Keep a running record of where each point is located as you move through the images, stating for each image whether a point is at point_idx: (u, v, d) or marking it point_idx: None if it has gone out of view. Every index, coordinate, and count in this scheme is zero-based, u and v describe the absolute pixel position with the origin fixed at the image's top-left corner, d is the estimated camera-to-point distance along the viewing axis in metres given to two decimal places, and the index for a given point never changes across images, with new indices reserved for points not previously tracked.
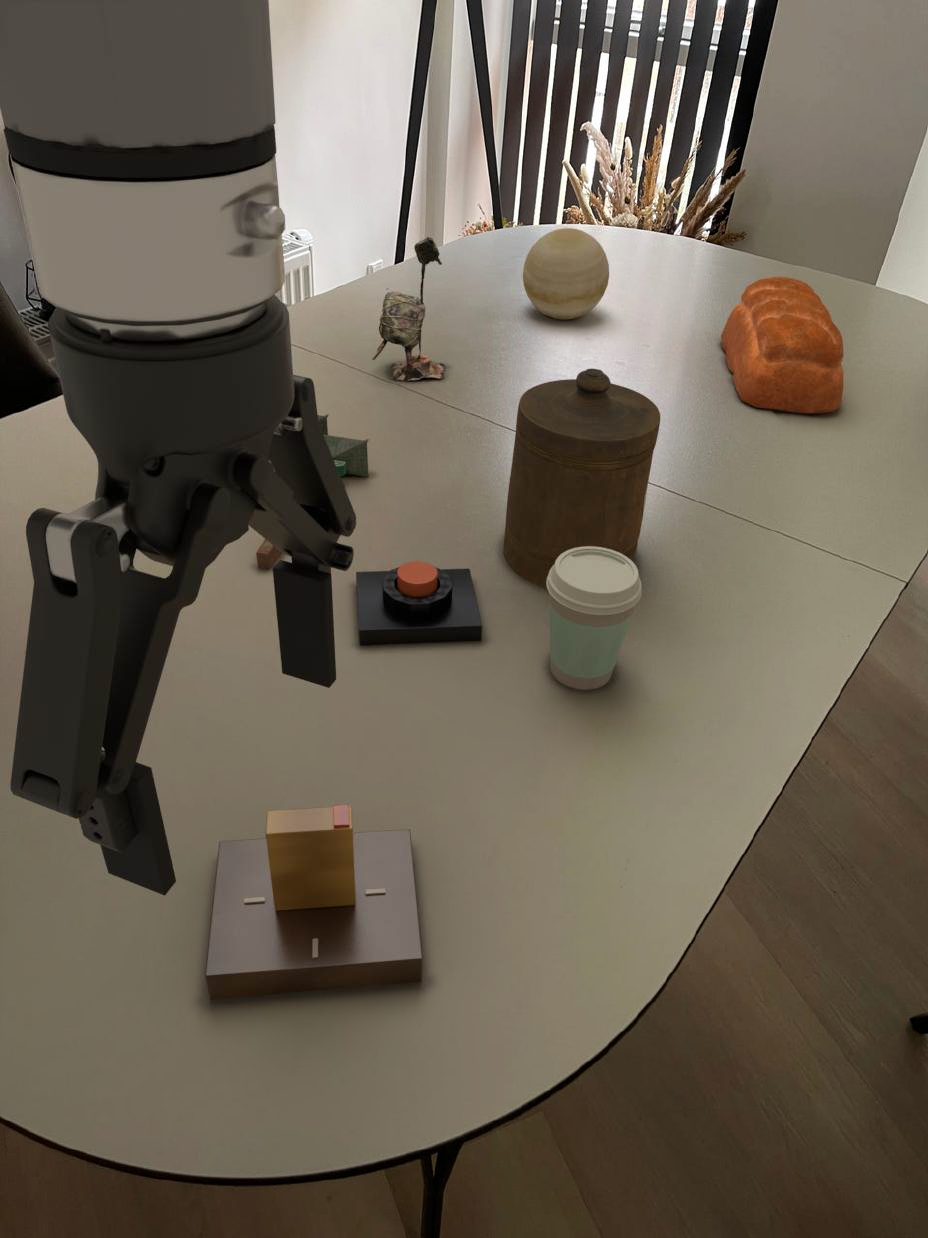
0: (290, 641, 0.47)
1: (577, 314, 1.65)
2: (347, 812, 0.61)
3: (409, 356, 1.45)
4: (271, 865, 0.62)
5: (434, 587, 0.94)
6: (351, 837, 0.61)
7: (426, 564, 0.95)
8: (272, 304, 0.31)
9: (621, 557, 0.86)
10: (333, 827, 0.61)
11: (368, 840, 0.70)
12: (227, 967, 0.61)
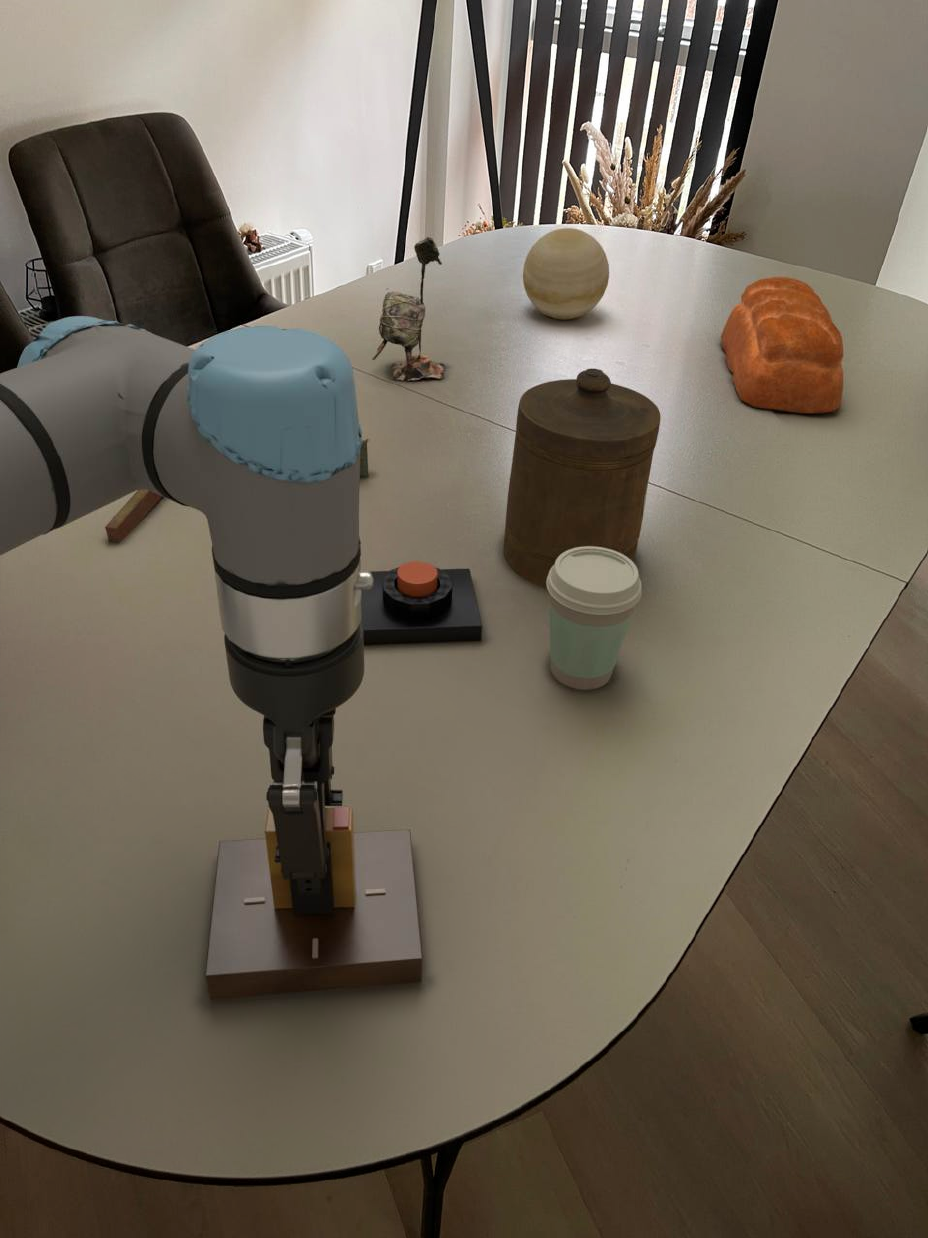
0: None
1: (577, 314, 1.65)
2: (347, 814, 0.61)
3: (409, 356, 1.45)
4: (270, 863, 0.62)
5: (434, 587, 0.94)
6: (350, 839, 0.61)
7: (426, 564, 0.95)
8: None
9: (621, 557, 0.86)
10: (332, 828, 0.61)
11: (368, 840, 0.70)
12: (227, 967, 0.61)
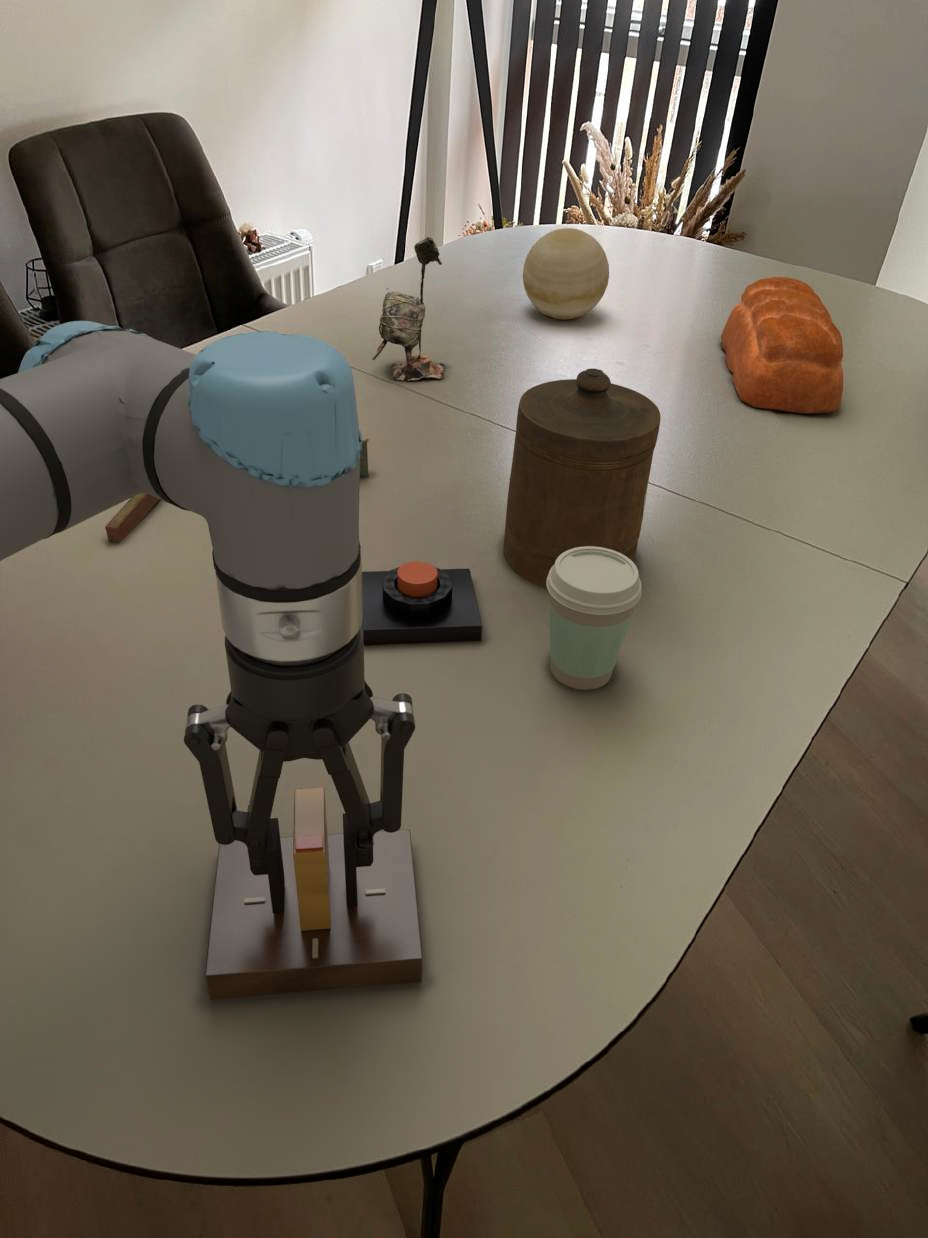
0: None
1: (577, 314, 1.65)
2: (313, 847, 0.59)
3: (409, 356, 1.45)
4: None
5: (434, 587, 0.94)
6: (294, 862, 0.59)
7: (426, 564, 0.95)
8: (328, 660, 0.50)
9: (621, 557, 0.86)
10: (296, 838, 0.60)
11: None
12: (227, 967, 0.61)
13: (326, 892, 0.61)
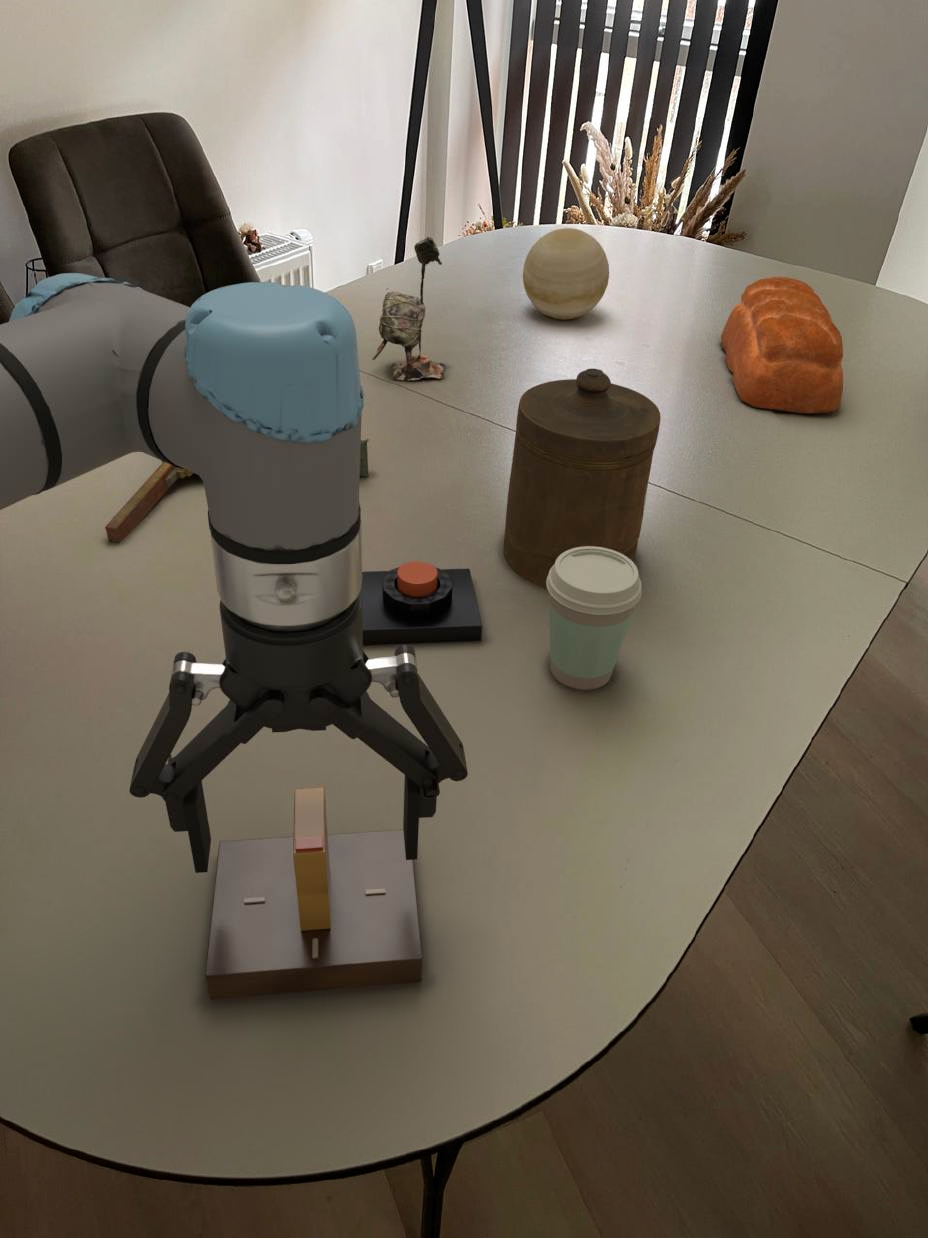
0: (404, 813, 0.63)
1: (577, 314, 1.65)
2: (313, 847, 0.59)
3: (409, 356, 1.45)
4: None
5: (434, 587, 0.94)
6: (294, 862, 0.59)
7: (426, 564, 0.95)
8: (326, 626, 0.49)
9: (621, 557, 0.86)
10: (296, 838, 0.60)
11: (368, 840, 0.70)
12: (227, 967, 0.61)
13: (326, 892, 0.61)
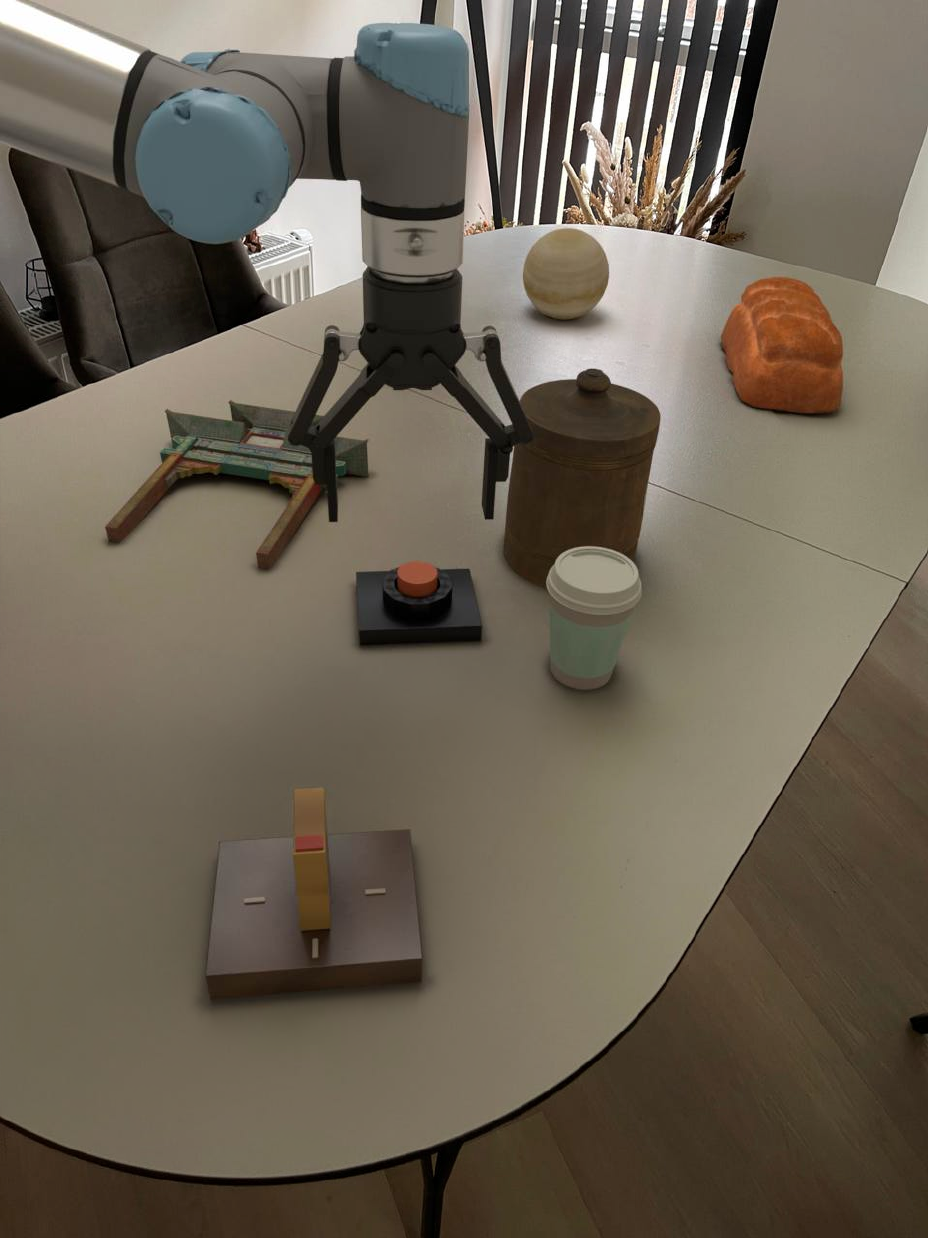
0: (483, 484, 0.84)
1: (577, 314, 1.65)
2: (313, 847, 0.59)
3: None
4: None
5: (434, 587, 0.94)
6: (294, 862, 0.59)
7: (426, 564, 0.95)
8: (439, 283, 0.69)
9: (621, 557, 0.86)
10: (296, 838, 0.60)
11: (368, 840, 0.70)
12: (227, 967, 0.61)
13: (326, 892, 0.61)
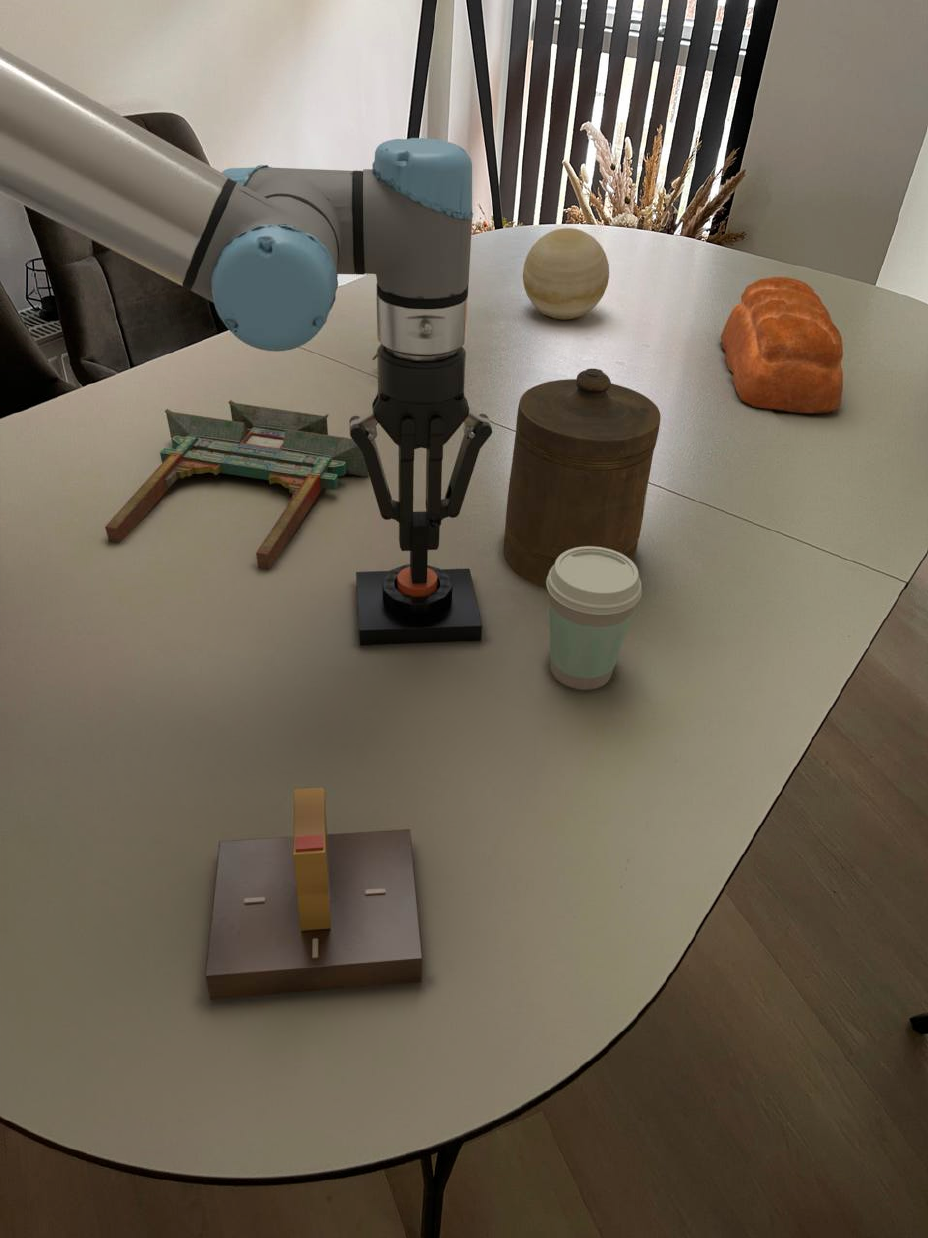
0: None
1: (577, 314, 1.65)
2: (313, 847, 0.59)
3: None
4: None
5: (434, 592, 0.94)
6: (294, 862, 0.59)
7: None
8: (446, 360, 0.78)
9: (621, 557, 0.86)
10: (296, 838, 0.60)
11: (368, 840, 0.70)
12: (227, 967, 0.61)
13: (326, 892, 0.61)
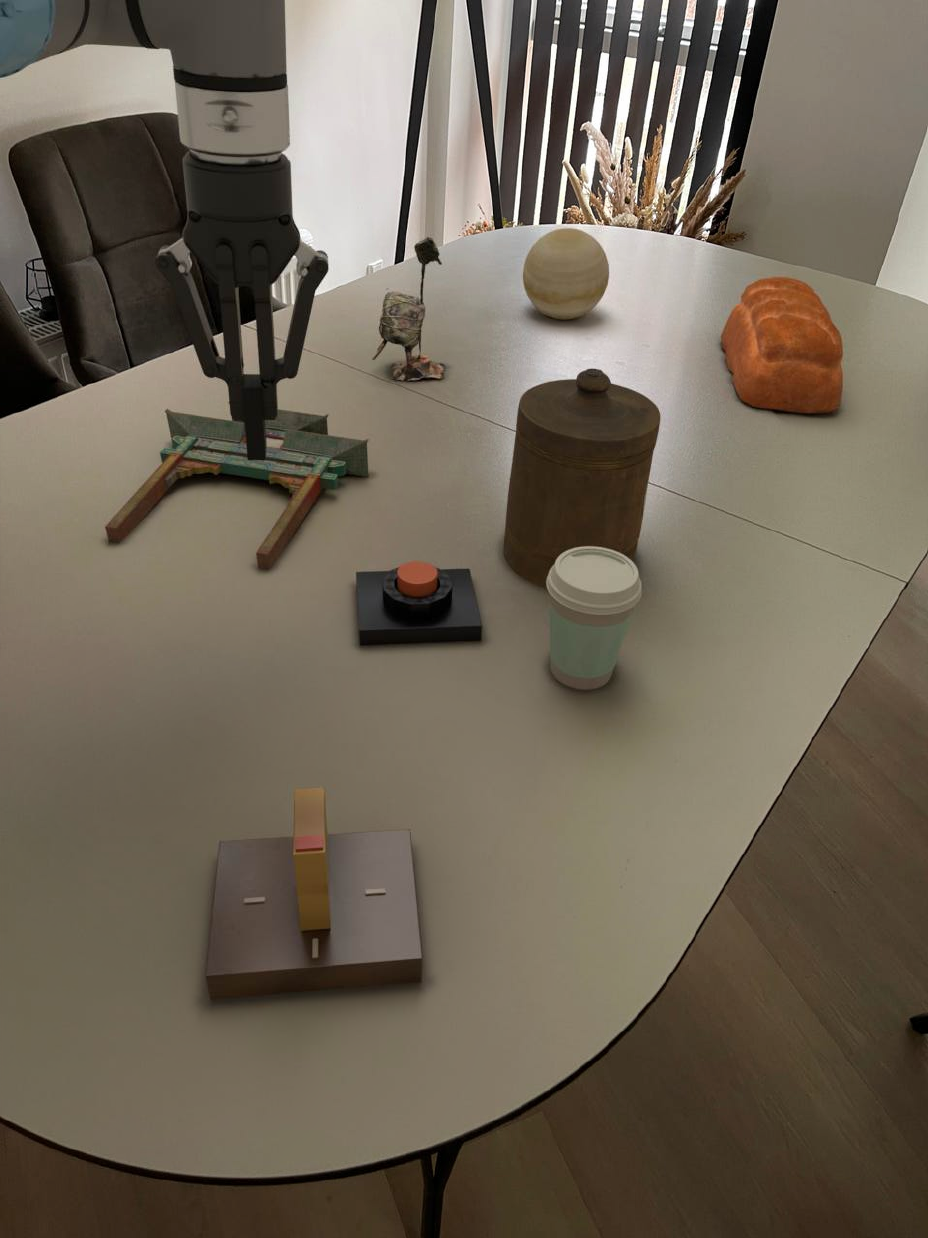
0: None
1: (577, 314, 1.65)
2: (313, 847, 0.59)
3: (409, 356, 1.45)
4: None
5: (434, 587, 0.94)
6: (294, 862, 0.59)
7: (426, 564, 0.95)
8: (261, 165, 0.65)
9: (621, 557, 0.86)
10: (296, 838, 0.60)
11: (368, 840, 0.70)
12: (227, 967, 0.61)
13: (326, 892, 0.61)
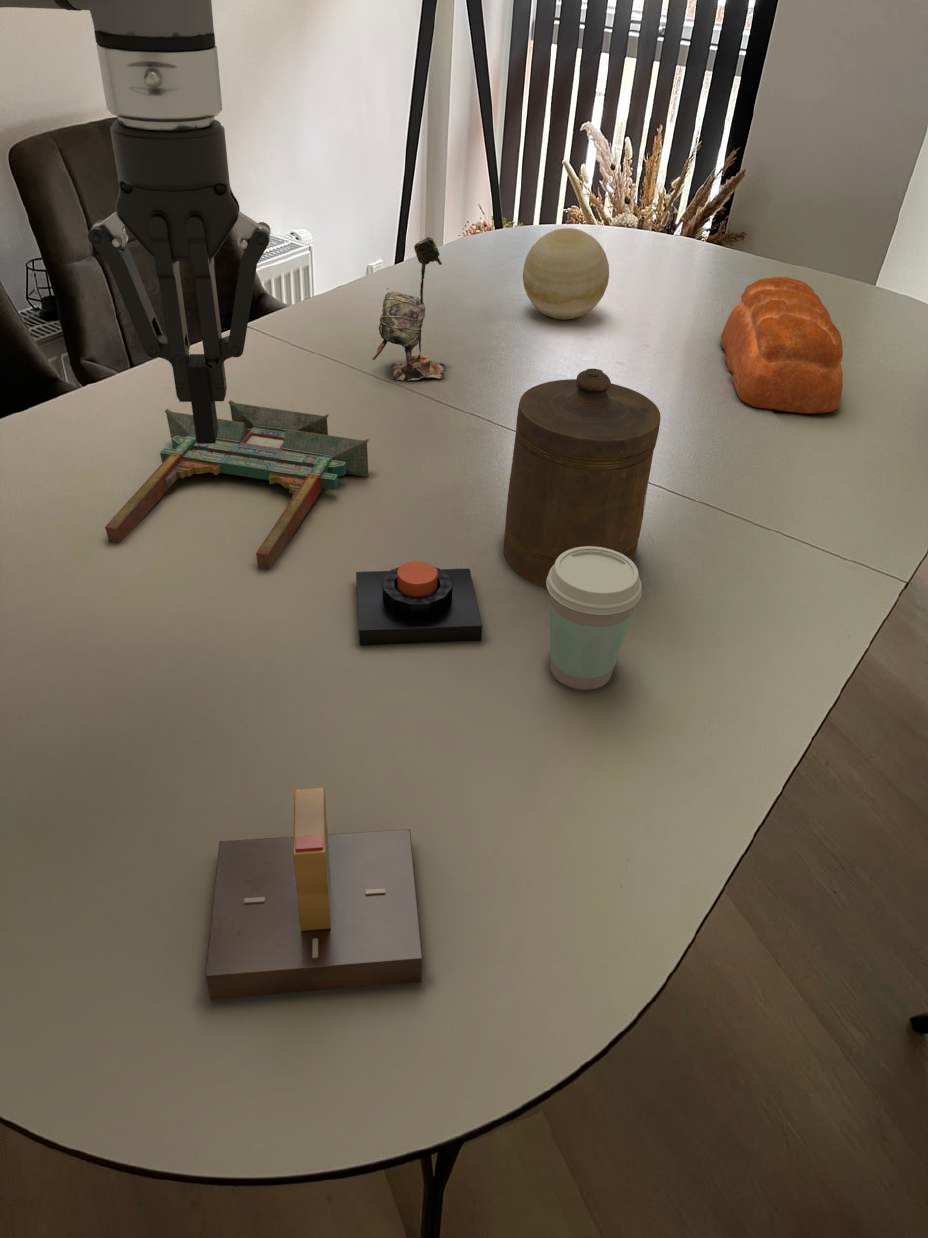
0: None
1: (577, 314, 1.65)
2: (313, 847, 0.59)
3: (409, 356, 1.45)
4: None
5: (434, 587, 0.94)
6: (294, 862, 0.59)
7: (426, 564, 0.95)
8: (190, 131, 0.63)
9: (621, 557, 0.86)
10: (296, 838, 0.60)
11: (368, 840, 0.70)
12: (227, 967, 0.61)
13: (326, 892, 0.61)
